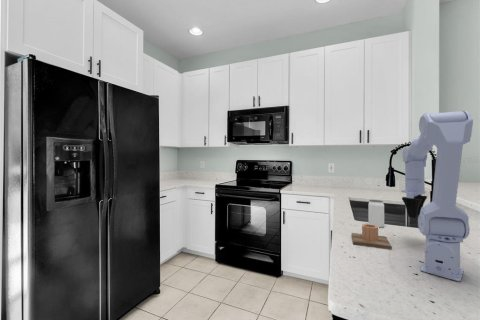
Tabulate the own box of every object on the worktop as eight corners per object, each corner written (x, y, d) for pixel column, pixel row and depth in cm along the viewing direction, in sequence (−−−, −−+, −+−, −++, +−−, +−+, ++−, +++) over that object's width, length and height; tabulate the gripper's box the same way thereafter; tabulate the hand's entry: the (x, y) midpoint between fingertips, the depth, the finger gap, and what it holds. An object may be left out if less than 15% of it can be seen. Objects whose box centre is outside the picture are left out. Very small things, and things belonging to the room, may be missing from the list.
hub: (375, 242, 83) (375, 228, 83) (360, 239, 87) (360, 225, 87) (379, 239, 87) (379, 226, 87) (365, 236, 91) (365, 223, 91)
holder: (391, 249, 79) (391, 235, 79) (353, 244, 84) (353, 230, 84) (385, 239, 90) (385, 226, 90) (351, 235, 95) (351, 223, 95)
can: (376, 228, 105) (376, 202, 105) (365, 224, 111) (365, 200, 111) (387, 227, 106) (387, 201, 107) (376, 223, 113) (375, 199, 113)
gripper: (406, 177, 93) (406, 211, 93) (396, 179, 83) (396, 216, 83) (428, 178, 88) (429, 214, 87) (420, 180, 78) (420, 220, 78)
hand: (414, 215), depth 85 cm, fingers open, 7 cm apart
